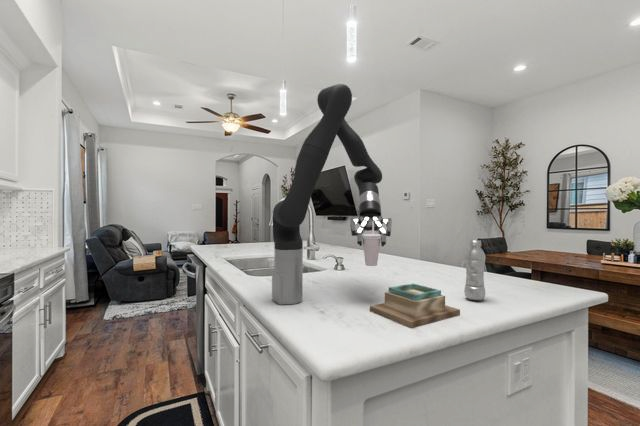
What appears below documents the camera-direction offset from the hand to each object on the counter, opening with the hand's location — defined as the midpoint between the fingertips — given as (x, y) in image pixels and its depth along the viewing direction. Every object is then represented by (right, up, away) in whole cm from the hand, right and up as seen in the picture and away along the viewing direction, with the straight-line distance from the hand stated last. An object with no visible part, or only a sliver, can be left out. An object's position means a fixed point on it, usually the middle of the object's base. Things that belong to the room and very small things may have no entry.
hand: (371, 244), depth 101 cm
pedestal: (+11, -19, -7) cm, 23 cm away
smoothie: (0, -7, +2) cm, 7 cm away
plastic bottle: (+36, -19, +7) cm, 41 cm away
